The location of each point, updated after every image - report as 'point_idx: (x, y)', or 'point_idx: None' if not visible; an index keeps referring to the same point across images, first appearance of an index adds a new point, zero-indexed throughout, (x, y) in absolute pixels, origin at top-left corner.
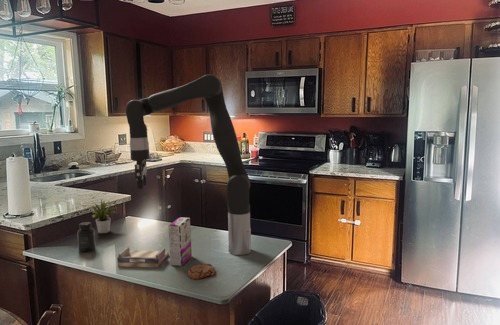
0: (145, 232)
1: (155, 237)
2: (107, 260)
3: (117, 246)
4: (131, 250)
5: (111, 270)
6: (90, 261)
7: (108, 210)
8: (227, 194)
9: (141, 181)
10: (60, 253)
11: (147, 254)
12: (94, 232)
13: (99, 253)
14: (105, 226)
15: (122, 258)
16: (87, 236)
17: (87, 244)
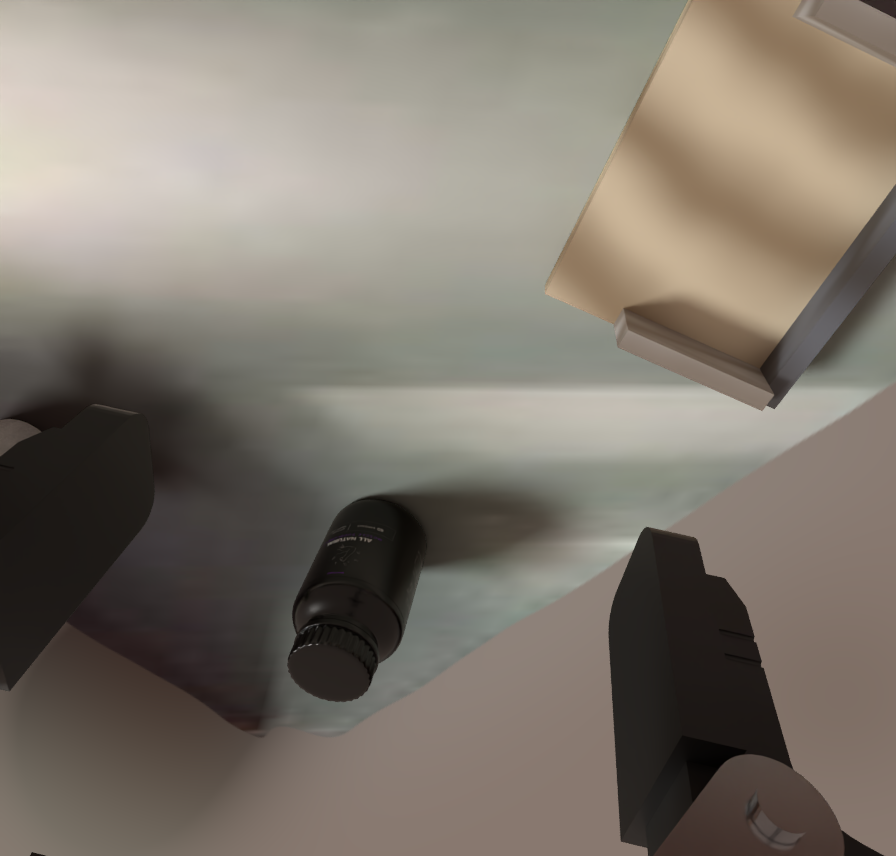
0: (35, 152)
1: (180, 61)
2: (613, 434)
3: (353, 373)
4: (549, 292)
5: (814, 414)
6: (587, 518)
7: None
8: None
9: (751, 730)
10: None
11: (704, 167)
12: (342, 571)
13: (461, 475)
14: None
15: (797, 373)
16: (404, 603)
17: (416, 566)
